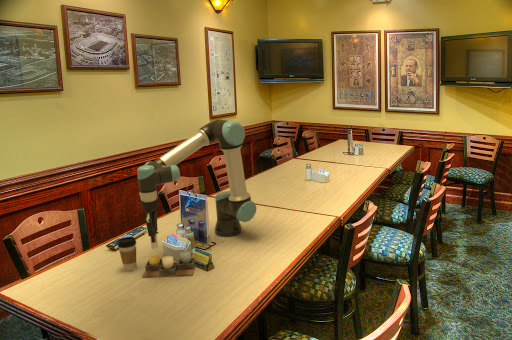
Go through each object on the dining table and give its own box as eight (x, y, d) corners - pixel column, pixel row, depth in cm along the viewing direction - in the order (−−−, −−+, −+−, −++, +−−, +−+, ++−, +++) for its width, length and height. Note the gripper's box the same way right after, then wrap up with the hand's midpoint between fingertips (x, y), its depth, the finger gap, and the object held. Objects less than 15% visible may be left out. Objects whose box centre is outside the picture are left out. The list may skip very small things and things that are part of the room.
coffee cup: (117, 269, 210) (113, 240, 207) (132, 262, 217) (128, 234, 213) (128, 274, 205) (124, 244, 202) (143, 266, 212) (139, 237, 208)
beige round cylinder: (174, 263, 206) (174, 255, 205) (172, 268, 201) (172, 260, 200) (164, 264, 206) (163, 256, 205) (161, 268, 201) (161, 260, 200)
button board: (196, 263, 213) (196, 256, 212) (192, 275, 200) (192, 268, 199) (149, 265, 213) (148, 258, 212) (142, 278, 201) (141, 271, 200)
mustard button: (161, 262, 211) (160, 255, 210) (159, 267, 206) (158, 259, 205) (150, 263, 211) (150, 255, 210) (148, 268, 206) (147, 260, 205)
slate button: (192, 258, 210) (191, 250, 209) (190, 263, 205) (190, 255, 204) (181, 259, 210) (181, 251, 209) (180, 263, 205) (179, 255, 204)
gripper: (144, 195, 207) (150, 242, 213) (137, 204, 194) (143, 254, 200) (160, 195, 207) (165, 241, 212) (153, 203, 194) (159, 253, 200)
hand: (154, 247), depth 206 cm, fingers closed
